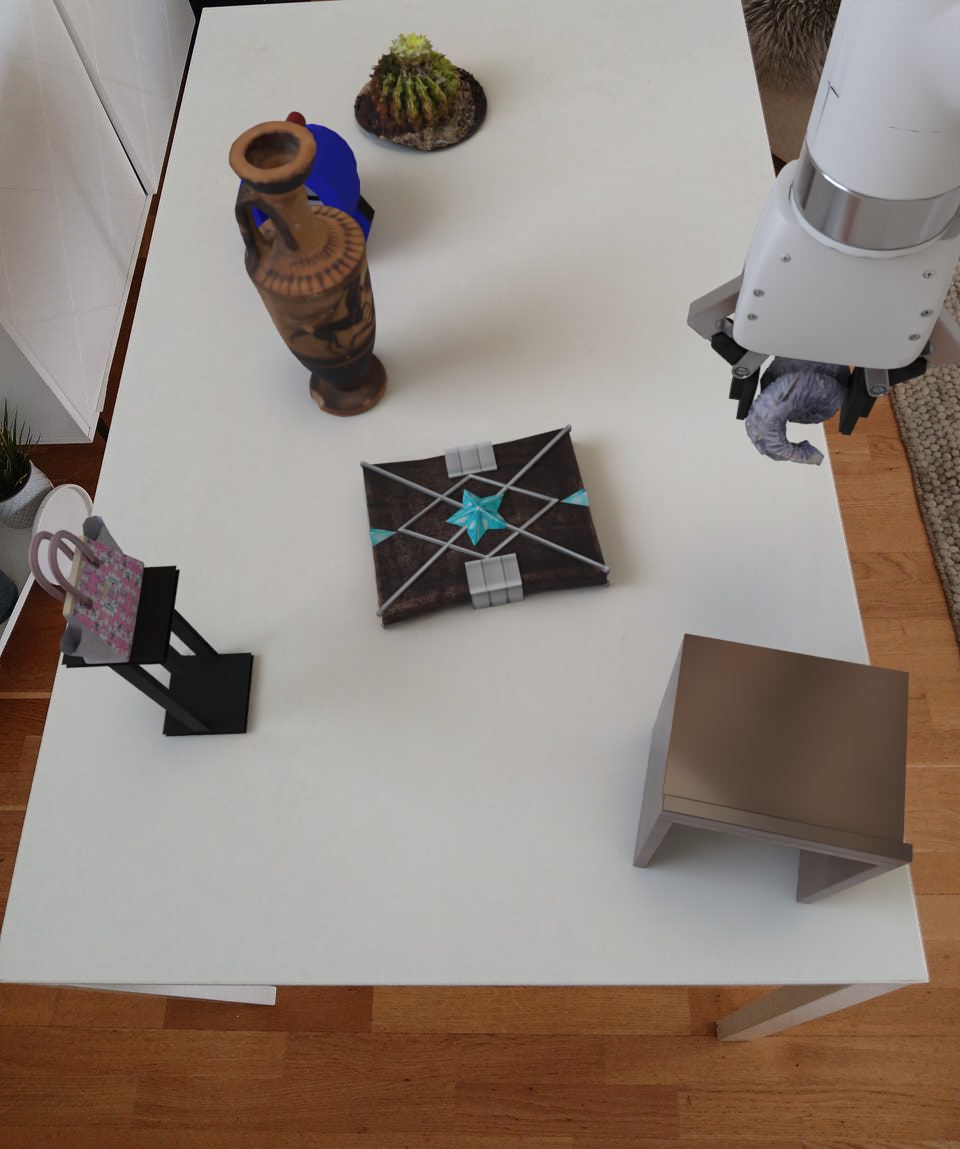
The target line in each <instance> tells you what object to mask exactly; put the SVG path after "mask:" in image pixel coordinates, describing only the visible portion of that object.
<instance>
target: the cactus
mask: <svg viewBox="0 0 960 1149" xmlns="http://www.w3.org/2000/svg"><path fill="white" fill-rule="evenodd" d="M397 37H398V38H396V39H394V40H393V39H390V41H391V45H390V46H389V47H388V50H389V53H387V54H384V53H382V54H381V56H380V57H381V58H380V57H378V60H377V61H376V62H377V64H375V65H371V68H370V70H373V73H369V74H367V76H368V77H369V78H370V80H368V81H367V82H366V83H365V84H364V86H363V87H362V88H361V89H360V91H359V92H358V94H357V95H356V97H355V100H354V105H353V108H354V117H355V120H356V122H357V123H358V125H359V126H360V127H361V128H362V129H363V130H365V132H367V133H369V134H373V135H374V136H376V138H378V139H381V140H385V141H390V142H392V143H396V144H397V145H398V144H401V145H403V146H404V145H408V146H409V147H410V148H413V147H415V146H416V147H417V149H421V150H424V151H431V150H433V149H436V148H440V147H441V148H442V147H448V146H449V145H451V144H455V143H459V142H460V141H461V140H462V139H464V138H469V137H471V136H472V135H473V134H474V133H475V132H476V130H477V128H478V127H479V126H480V125H481V124H482V123H483V121H484V119H485V117H486V114H487V110H488V99H487V96H486V93H485V90H484V88H483V86H482V85H481V84H480V82H479V80H477V79H476V78H475V76H474V73H470V71H467V70H466V69H465V68H461V67H458V65H455V64H453V63H452V61H451V60H449V58H446V56H447V54H444V53H441V52H438V50H437V48H435V49H436V50H433V47H434V45H433V44H431V43H432V40H428V38H427V35H426V34H424V35H423V34H422V33H420V34H419V35H417V34H416V33H415V32H411V33H410V34H408V33H405V35H404V34H403V33H402V32H401V33H399V35H397Z"/></svg>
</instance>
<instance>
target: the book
mask: <svg viewBox="0 0 960 1149" xmlns="http://www.w3.org/2000/svg"><path fill="white" fill-rule="evenodd" d="M571 432H572V425H571V424H570V423H568V424H567V425H565V427H561V428H557V429H554V430H549V431H545V432H542V433H537V434H533V435H529V436H525V437H523V438H518V439H514V440H509V441H505V442H500V443H495V444H493V442H492V440H489V441H483V442H478V443H473V444H468V445H467V444H466V445H461V446H457V447H452V448H446V449H443V453H444V454H443V455H438V456H431V457H428V458H421V459H413V460H400V461H391V462H380V463H368V462H366V461H364V460H360V462H359V465H360V468H362V475H363V483H364V492H365V499H366V508H367V516H368V517H367V518H368V523H369V530H368V534H369V538H370V542H371V548H372V558H373V564H374V574H375V583H376V584H375V585H376V592H377V602H378V603H377V604H378V609H377V610H376V611H375V614H376V615H377V617H378V618H381V622H382V623H380V625H381V627H382V629H384V630H386V629H388V627H389V626H390V625H393V624H397V623H400V622H403V621H407V620H410V619H414V618H417V617H421V616H424V615H428V614H430V613H434V612H437V611H441V610H445V609H447V608H453V607H459V606H464V605H470V604H472V607H473V610H474V611H475V610H481V609H485V608H491V607H497V606H502V605H508V604H513V603H517V602H522V601H523V602H524V596H525V595H531V594H537V593H542V592H543V593H544V592H551V591H561V590H569V589H580V588H587V587H596V586H597V587H598V586H603V587H605V588H609V587H610V585H611V580H610V579H608V576H609V574H610V571H611V567H609V566H607V565H606V563H605V560H604V555H603V552H602V549H601V545H600V542H599V538H598V534H597V531H596V527H595V523H594V520H593V516H592V513H591V512H592V511H591V509H590V508H591V507H590V504H589V497H588V491H587V490H586V488H585V486H584V483H583V478H582V475H581V471H580V467H579V464H578V460H577V456H576V452H575V449H574V445H573V441H572V437H571Z"/></svg>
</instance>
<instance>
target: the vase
mask: <svg viewBox="0 0 960 1149" xmlns="http://www.w3.org/2000/svg"><path fill="white" fill-rule="evenodd" d="M316 149H317V145H316V142H315V141H314V139H313V135H312V133H311V132H310V131H309V130H307V128H305V127H303V126H301V125H298V124H295V123H292V122H288V121H285V120H271V121H265V122H260V123H258V124H255V125H254V126H252V127H250V128H248V129H246V130H245V131H243V132H242V133H241V134H240V135H239V136H237V138H236V139H235V140H234V141H233V142H232V144H231V145H230V149H229V153H228V165H229V166H230V168H231V170H232V171H233V173H234V174H235V175H236V176H237V177H238V178H239V179H240V181H241V180H242V181H243V183H242V185H241V187H240V189H239V188H238V191H239V192H238V191H237V196H236V201H235V205H234V218H235V220H236V223H237V225H238V228H239V233H240V235H241V238H242V240H243V243H244V246H245V249H244V265H245V271H246V274H247V276H248V277H249V279H250V281H251V282H252V284H253V285H254V288H255V289H256V291H257V292H258V295H259V297H260V299H261V301H262V302H263V305H264V306H265V309H266V310H267V312H268V314H269V316H270V318H271V320H272V323H273V324H274V326H275V328H276V330H277V332H278V334H279V336H280V337H281V339H282V340H283V342H284V344H285V345H286V347H287V348H288V349H289V351H290V352H291V354H292V355H293V356H294V357H295V358H296V360H298V361H299V362H300V364H301V365H302V366H303V367H304V368H305V369H307V370H308V371H309V372H311V374H310V378H309V384H308V385H309V393H310V397H311V399H313V400H314V401H316V402H317V404H318V405H319V407H320V410H321V411H322V412H325V413H328V414H330V415H333V416H339V417H348V416H354V415H358V414H361V413H364V412H365V411H368V410H370V409H371V408H373V407H374V406H376V404H378V402H379V401H380V400H381V399H382V397H383V396H384V393H385V391H386V389H387V385H388V374H387V370H386V368H385V366H384V364H383V363H382V361H381V359H380V358H379V357H378V356H377V355H376V354H374V349H375V342H376V334H377V317H376V307H375V306H376V304H375V299H374V292H373V285H372V278H371V273H370V268H369V262H368V253H367V242H365V236H364V233H363V231H362V229H361V227H360V225H359V224H358V223H357V221H356V220H355V219H354V218H352V217H351V216H350V215H348V214H347V213H345V212H343V211H342V210H340V209H337V208H334V207H330V206H325V205H309V203H308V199H307V195H306V192H305V187H304V183H305V182H306V181H307V179H308V178H309V176H310V174H311V172H312V169H313V165H314V161H315V157H316ZM252 207H255V208H257V209H259V210H261V211H263V212H264V213H265V214H266V215H267V216H268V217H269V219H267V220H266V221H265V222H264V223H263V224H262V225H261V226H259V227H258V226H257V225H256V223H255V220H254V215H253V210H252Z"/></svg>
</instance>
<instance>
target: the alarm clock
mask: <svg viewBox="0 0 960 1149" xmlns="http://www.w3.org/2000/svg"><path fill="white" fill-rule="evenodd" d="M284 121H288V122H292V123H295V124H298V125H301V126H303V127H305V128H307V130H309V131H310V132H311V133H312V135H313V139H314V141H315V142H316V145H317V149H316V157H315V161H314V165H313V169H312V172H311V174H310V176H309V178H308V179H307V181H306V182H305V183H304V187H305V192H306V195H307V199H308V203H309V205H325V206H330V207H334V208H337V209H340V210H342V211H343V212H345V213H347V214H348V215H350V216H351V217H352V218H354V219H355V220H356V221H357V223H358V224H359V225H360V227H361V229H362V231H363V233H364V236H365V242H366V243H367V242H368V238H369V235H370V232H371V227H372V224H373V220H374V217H375V213H376V210H375V209H374V208H373V207H372V206H371V204H370V203H369V202H368V201H367V200H366V198H364V196H363V195H362V194H361V179H360V176H359V173H358V163H357V162H358V161H357V160H356V156H355V153H354V150H352V148H351V146H350V145H349V143H348V142H347V141H346V139H344V137H343V136H341V135H340V134H339V133H338V132H337V131H334V130H333V129H330V128H329V127H327V126H325V125H322V124H317V123H307V120H306V117H305V116H304V114H302V113H301V112H299V111H291V112H289V114H288V115H287V117H286V118H285V120H284ZM242 183H243V181H242V180H241V179H240V182H239V187H238V191H237V193H238V192H239V189H240V187H241V185H242ZM252 210H253V215H254V220H255V223H256V225H257V226H258V227H259V226H261V225H262V224H263V223H264V222H265V221H266V220H267V219H269V217H268V216H267V215H266V214H265V213H264V212H263V211H261V210H259V209H257V208H255V207H252Z"/></svg>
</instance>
